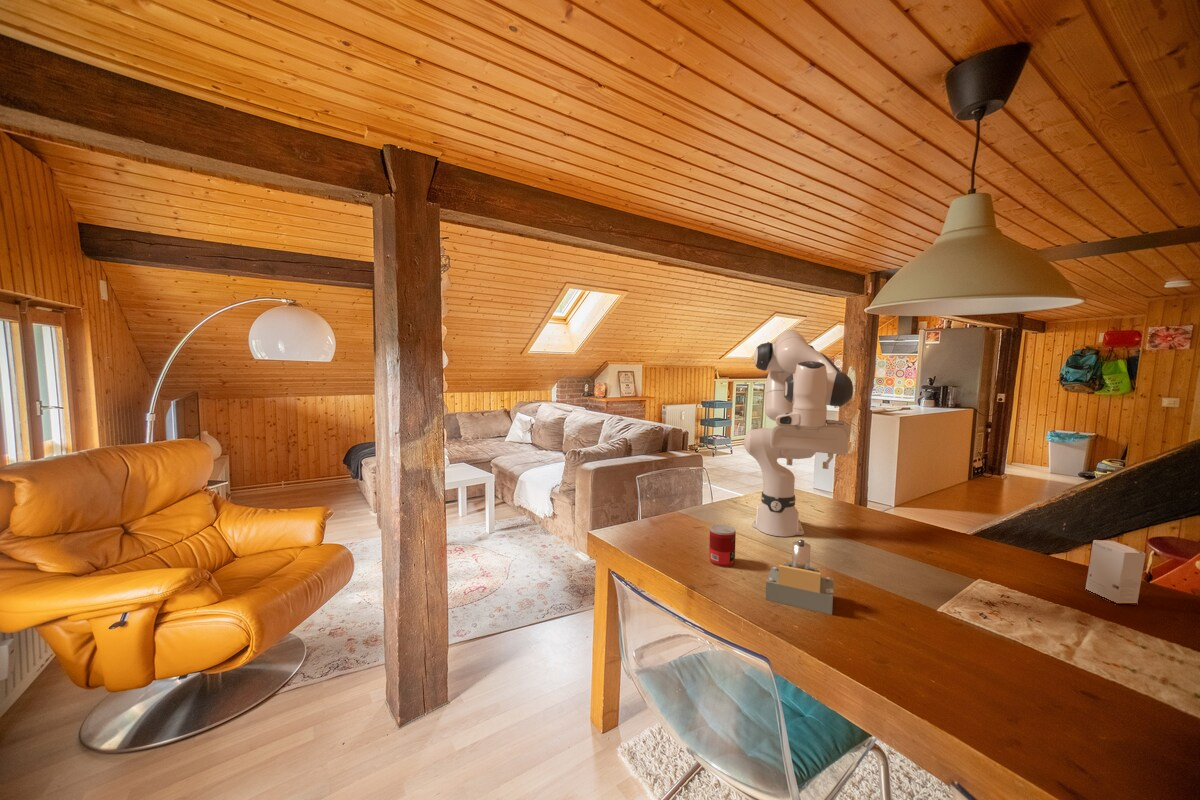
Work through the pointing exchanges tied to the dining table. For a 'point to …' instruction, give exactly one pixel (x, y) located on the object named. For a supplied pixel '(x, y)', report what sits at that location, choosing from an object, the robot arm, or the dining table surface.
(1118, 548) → the skincare box
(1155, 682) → the dining table surface
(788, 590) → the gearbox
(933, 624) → the dining table surface
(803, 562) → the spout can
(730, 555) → the canned food
